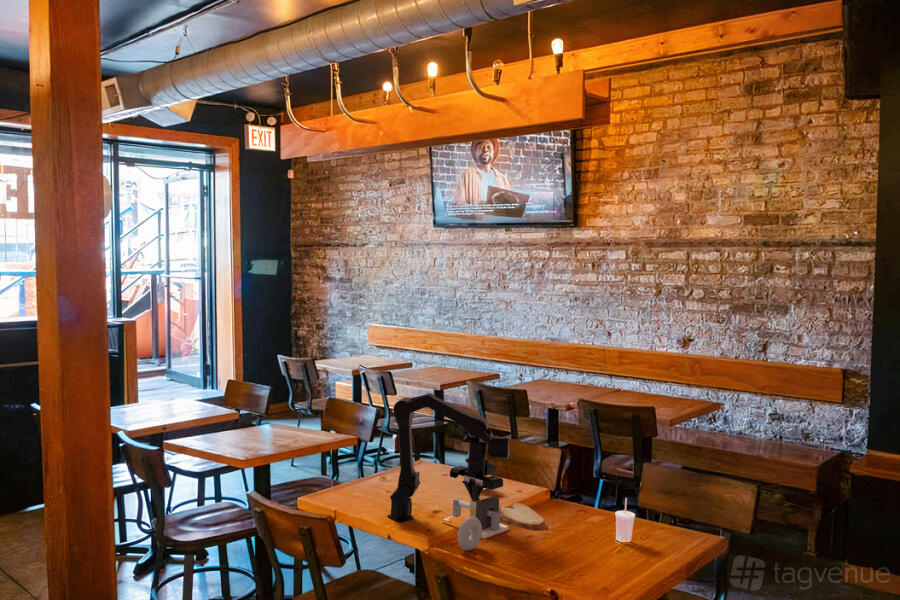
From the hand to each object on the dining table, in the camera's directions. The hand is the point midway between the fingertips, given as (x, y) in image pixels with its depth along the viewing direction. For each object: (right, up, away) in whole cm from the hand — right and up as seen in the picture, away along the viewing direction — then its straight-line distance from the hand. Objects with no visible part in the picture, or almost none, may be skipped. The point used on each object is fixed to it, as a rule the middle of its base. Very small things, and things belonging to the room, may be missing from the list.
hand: (474, 503), depth 247 cm
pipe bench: (0, -7, 0) cm, 7 cm away
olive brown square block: (+2, -5, -2) cm, 6 cm away
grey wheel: (-2, -9, -20) cm, 22 cm away
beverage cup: (+47, -10, -7) cm, 48 cm away
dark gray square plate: (+4, -6, -4) cm, 8 cm away
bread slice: (+16, -8, +9) cm, 20 cm away
